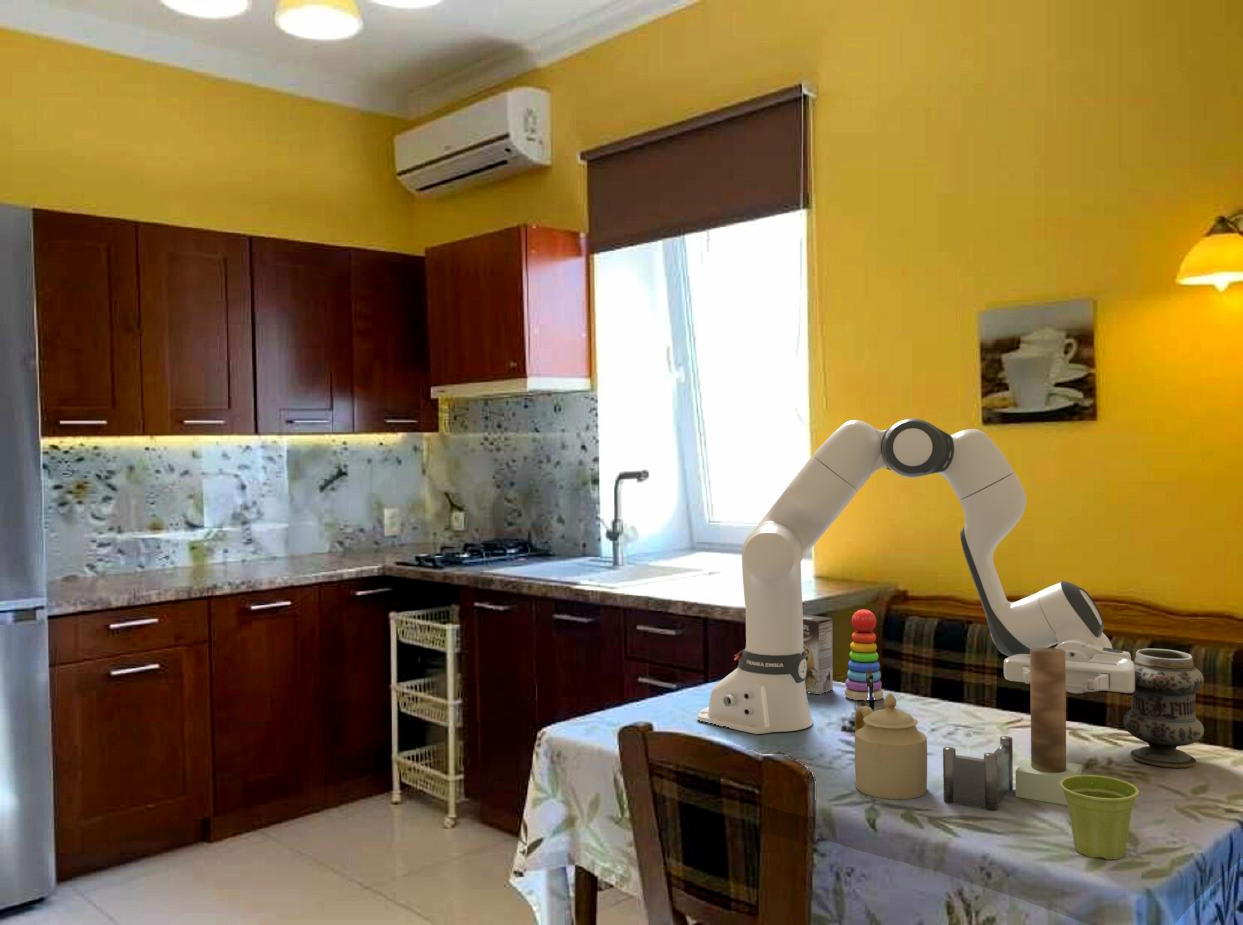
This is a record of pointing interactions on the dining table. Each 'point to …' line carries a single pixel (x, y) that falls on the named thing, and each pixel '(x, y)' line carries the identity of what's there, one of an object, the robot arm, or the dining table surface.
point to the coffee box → (818, 653)
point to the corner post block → (978, 777)
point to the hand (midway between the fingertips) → (1060, 682)
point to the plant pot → (1099, 814)
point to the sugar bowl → (889, 753)
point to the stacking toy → (863, 658)
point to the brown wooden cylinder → (1048, 709)
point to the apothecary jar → (1164, 707)
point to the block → (1043, 782)
